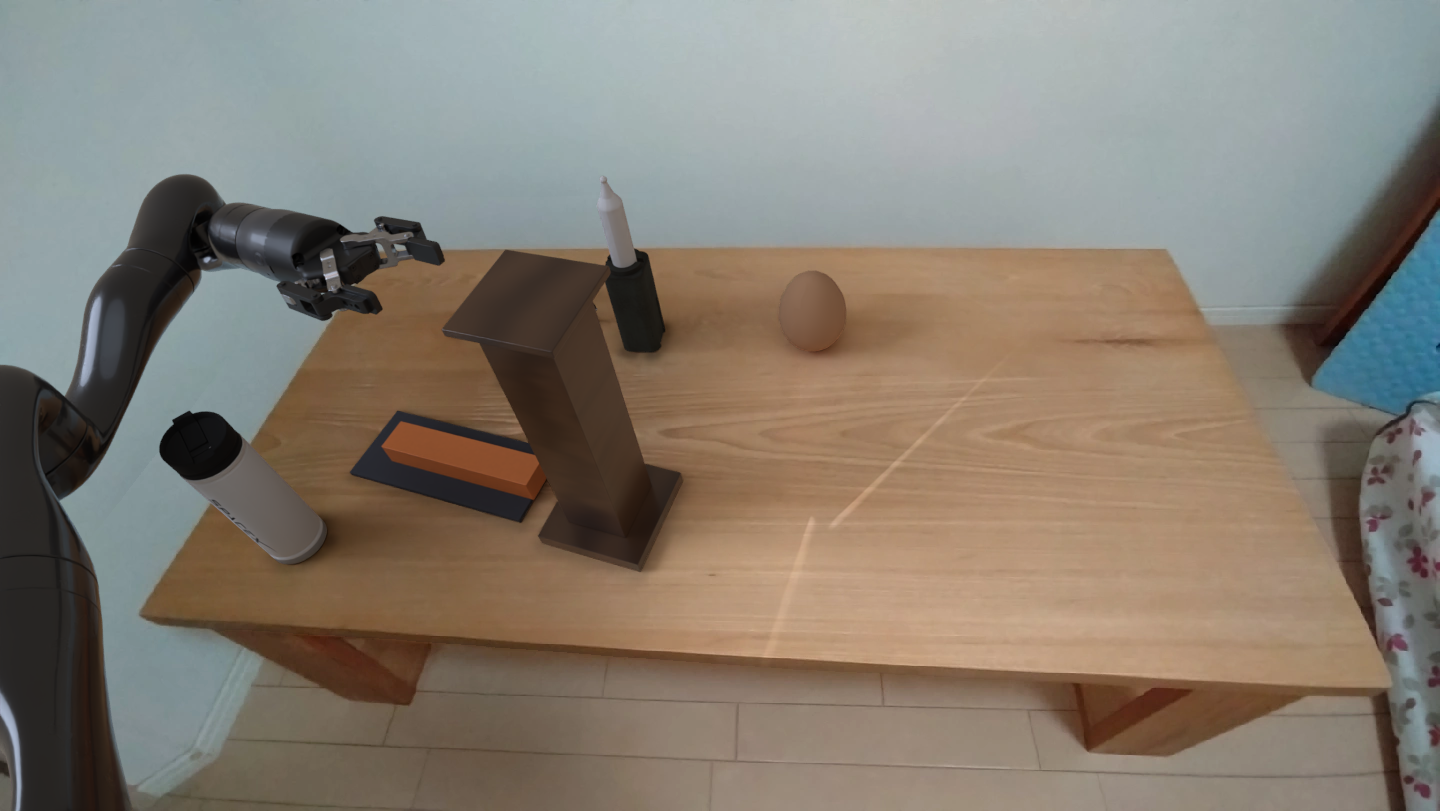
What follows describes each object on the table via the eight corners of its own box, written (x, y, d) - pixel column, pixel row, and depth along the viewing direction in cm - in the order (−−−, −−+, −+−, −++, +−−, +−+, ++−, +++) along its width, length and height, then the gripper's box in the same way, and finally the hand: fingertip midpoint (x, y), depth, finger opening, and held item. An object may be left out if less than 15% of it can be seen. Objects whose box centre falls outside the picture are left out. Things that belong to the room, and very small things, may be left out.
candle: (659, 353, 101) (619, 190, 82) (622, 351, 102) (573, 190, 83) (667, 325, 104) (630, 162, 85) (630, 324, 105) (586, 163, 86)
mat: (562, 453, 92) (560, 450, 92) (520, 523, 86) (519, 520, 86) (399, 413, 99) (397, 410, 99) (351, 475, 93) (349, 472, 93)
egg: (859, 340, 98) (861, 272, 90) (815, 377, 95) (813, 310, 87) (810, 311, 103) (808, 244, 94) (767, 346, 100) (761, 279, 91)
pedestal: (683, 480, 87) (625, 259, 63) (640, 572, 81) (557, 364, 56) (589, 457, 91) (501, 240, 67) (541, 543, 84) (422, 336, 60)
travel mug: (315, 505, 91) (211, 396, 76) (336, 541, 87) (230, 434, 72) (264, 537, 89) (146, 431, 74) (283, 576, 85) (163, 472, 70)
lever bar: (550, 472, 90) (543, 457, 87) (533, 500, 87) (526, 485, 85) (411, 435, 96) (400, 420, 93) (392, 461, 93) (380, 446, 91)
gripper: (363, 245, 87) (471, 272, 80) (258, 317, 78) (370, 354, 72) (333, 183, 82) (447, 207, 75) (217, 254, 73) (334, 287, 67)
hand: (409, 278), depth 73 cm, fingers open, 8 cm apart
